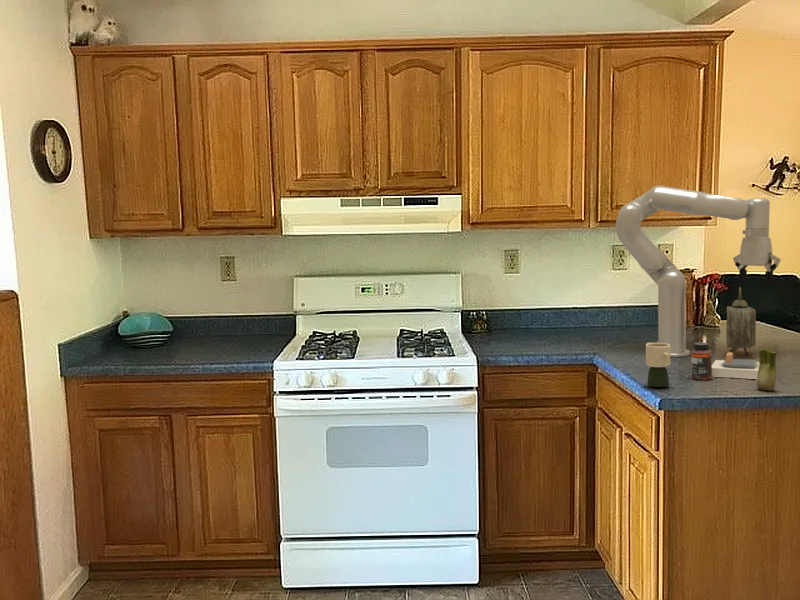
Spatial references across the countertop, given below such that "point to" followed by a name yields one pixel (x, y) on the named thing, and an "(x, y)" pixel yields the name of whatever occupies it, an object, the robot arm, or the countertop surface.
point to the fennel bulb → (766, 370)
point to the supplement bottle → (701, 362)
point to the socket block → (734, 371)
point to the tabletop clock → (740, 325)
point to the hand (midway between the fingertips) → (755, 281)
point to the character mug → (658, 364)
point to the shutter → (738, 362)
